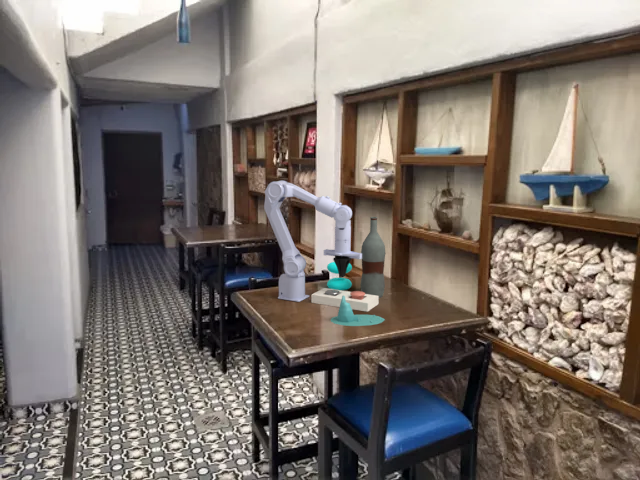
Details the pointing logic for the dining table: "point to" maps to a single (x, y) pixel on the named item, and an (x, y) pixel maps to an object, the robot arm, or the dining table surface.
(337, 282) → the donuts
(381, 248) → the bottle
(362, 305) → the socket block
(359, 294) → the red plug
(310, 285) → the dining table surface
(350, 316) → the teal witch hat
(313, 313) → the dining table surface
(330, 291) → the grey plug
